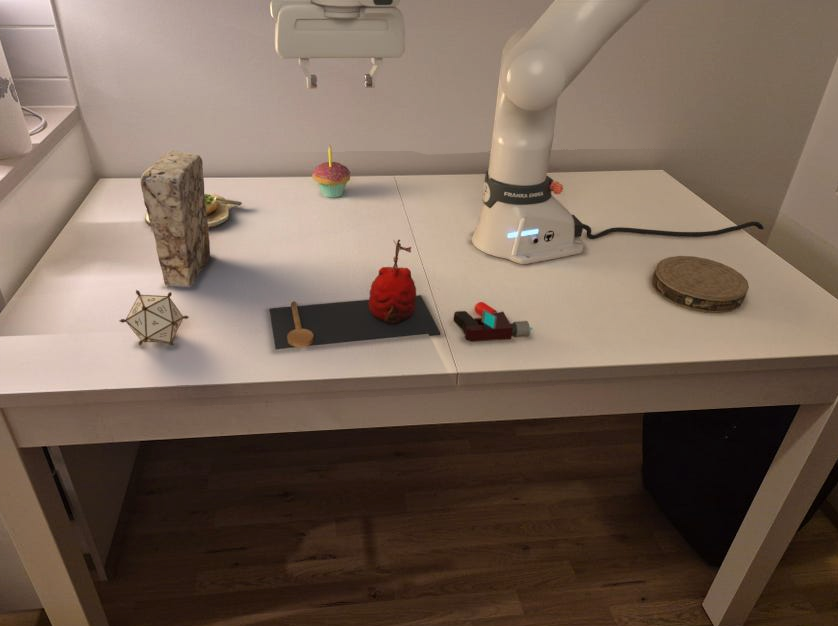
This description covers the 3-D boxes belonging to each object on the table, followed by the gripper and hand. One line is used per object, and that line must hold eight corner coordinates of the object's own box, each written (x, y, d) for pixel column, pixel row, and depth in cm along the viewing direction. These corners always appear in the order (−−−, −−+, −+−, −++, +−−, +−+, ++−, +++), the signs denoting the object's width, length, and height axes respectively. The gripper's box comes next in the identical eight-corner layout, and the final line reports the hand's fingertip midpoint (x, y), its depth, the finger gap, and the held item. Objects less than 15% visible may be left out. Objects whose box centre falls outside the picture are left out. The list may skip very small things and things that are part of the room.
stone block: (201, 290, 112) (183, 177, 101) (160, 289, 112) (137, 175, 100) (216, 255, 123) (201, 149, 111) (178, 254, 123) (160, 148, 111)
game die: (165, 368, 100) (141, 347, 91) (126, 334, 102) (98, 311, 92) (205, 325, 102) (186, 301, 93) (167, 293, 104) (144, 266, 94)
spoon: (281, 306, 108) (280, 301, 108) (305, 304, 109) (305, 299, 108) (288, 348, 98) (288, 343, 98) (315, 345, 99) (315, 340, 99)
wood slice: (659, 262, 128) (663, 248, 126) (746, 283, 123) (752, 269, 121) (644, 297, 117) (648, 282, 115) (739, 322, 111) (745, 307, 109)
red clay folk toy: (412, 304, 110) (417, 222, 101) (417, 327, 105) (423, 242, 96) (367, 305, 109) (368, 222, 101) (369, 328, 104) (371, 242, 95)
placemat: (420, 297, 113) (420, 295, 113) (440, 335, 104) (440, 332, 104) (269, 310, 108) (269, 308, 107) (275, 351, 98) (275, 349, 98)
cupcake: (348, 201, 147) (348, 148, 140) (311, 200, 146) (308, 146, 139) (351, 187, 154) (351, 136, 146) (315, 186, 153) (313, 134, 146)
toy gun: (535, 340, 104) (541, 314, 101) (463, 345, 102) (466, 319, 99) (516, 308, 112) (520, 284, 109) (448, 313, 110) (450, 287, 107)
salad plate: (241, 196, 146) (239, 176, 144) (244, 229, 132) (242, 208, 130) (150, 200, 142) (146, 180, 140) (144, 235, 128) (139, 213, 126)
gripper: (271, -9, 93) (277, 93, 101) (410, -7, 97) (406, 91, 105) (267, -15, 97) (274, 83, 106) (400, -12, 102) (396, 81, 110)
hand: (341, 87), depth 105 cm, fingers open, 8 cm apart
